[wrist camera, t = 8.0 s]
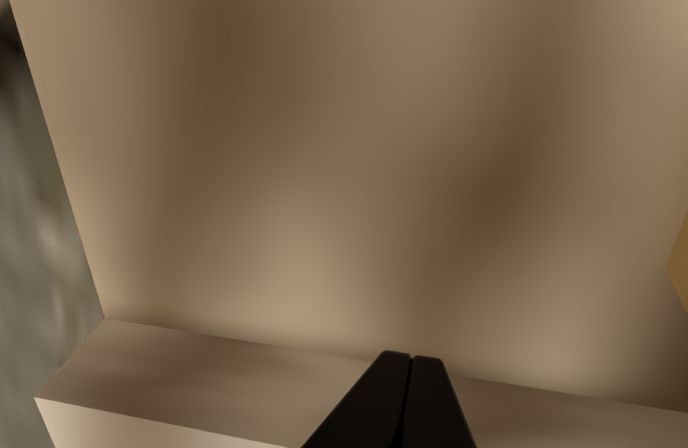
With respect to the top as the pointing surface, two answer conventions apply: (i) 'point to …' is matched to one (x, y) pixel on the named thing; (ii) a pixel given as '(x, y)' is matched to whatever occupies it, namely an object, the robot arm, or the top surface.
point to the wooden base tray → (371, 213)
